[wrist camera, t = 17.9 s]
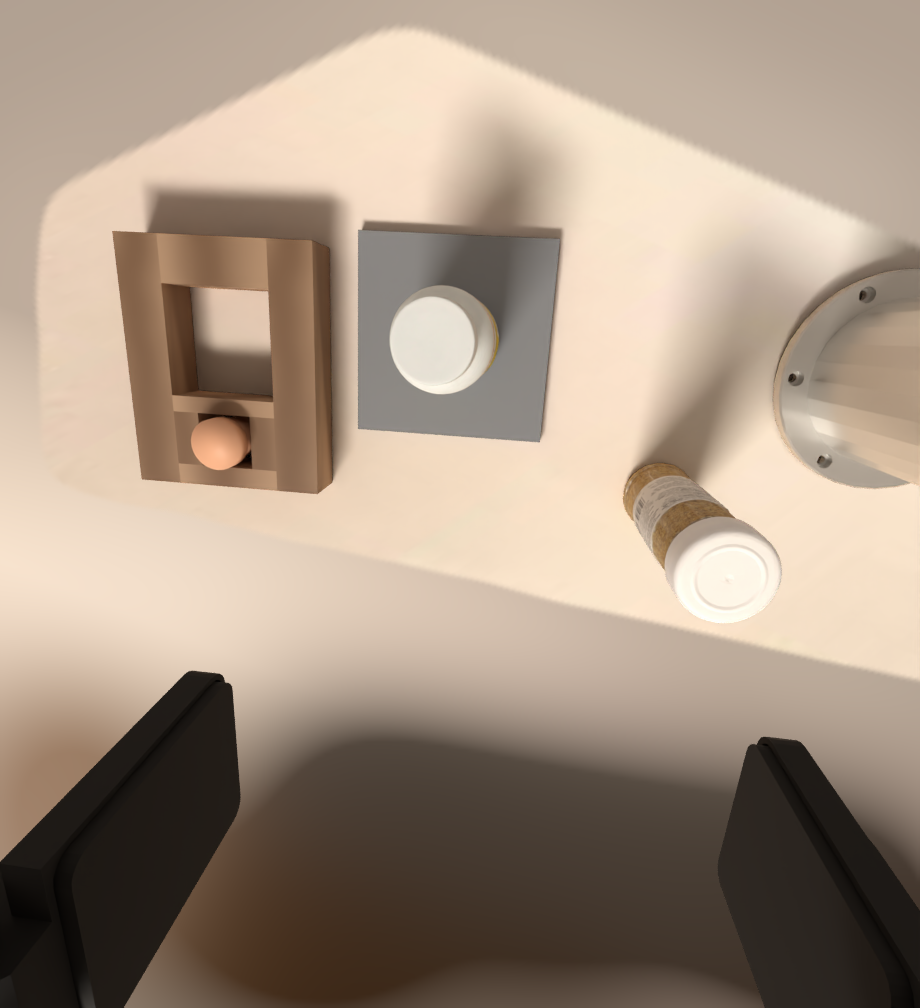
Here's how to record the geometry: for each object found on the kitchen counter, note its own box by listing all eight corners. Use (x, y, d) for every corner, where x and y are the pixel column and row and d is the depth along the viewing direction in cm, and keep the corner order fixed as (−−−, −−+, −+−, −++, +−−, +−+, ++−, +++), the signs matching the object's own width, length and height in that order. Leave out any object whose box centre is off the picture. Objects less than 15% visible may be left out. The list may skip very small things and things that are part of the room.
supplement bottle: (510, 309, 34) (507, 300, 25) (484, 394, 35) (472, 415, 26) (426, 283, 34) (391, 263, 25) (403, 369, 35) (363, 381, 26)
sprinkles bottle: (678, 533, 37) (761, 637, 25) (612, 517, 38) (660, 612, 25) (702, 469, 36) (803, 544, 23) (633, 453, 36) (695, 518, 23)
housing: (329, 248, 34) (312, 240, 32) (332, 482, 39) (317, 494, 36) (145, 239, 35) (112, 231, 32) (169, 468, 40) (141, 479, 37)
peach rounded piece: (267, 412, 38) (238, 421, 34) (269, 458, 39) (242, 472, 35) (222, 408, 38) (188, 417, 34) (225, 454, 39) (193, 467, 35)
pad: (559, 240, 33) (560, 239, 32) (539, 440, 36) (539, 442, 36) (361, 231, 34) (358, 230, 33) (360, 427, 37) (358, 428, 37)
